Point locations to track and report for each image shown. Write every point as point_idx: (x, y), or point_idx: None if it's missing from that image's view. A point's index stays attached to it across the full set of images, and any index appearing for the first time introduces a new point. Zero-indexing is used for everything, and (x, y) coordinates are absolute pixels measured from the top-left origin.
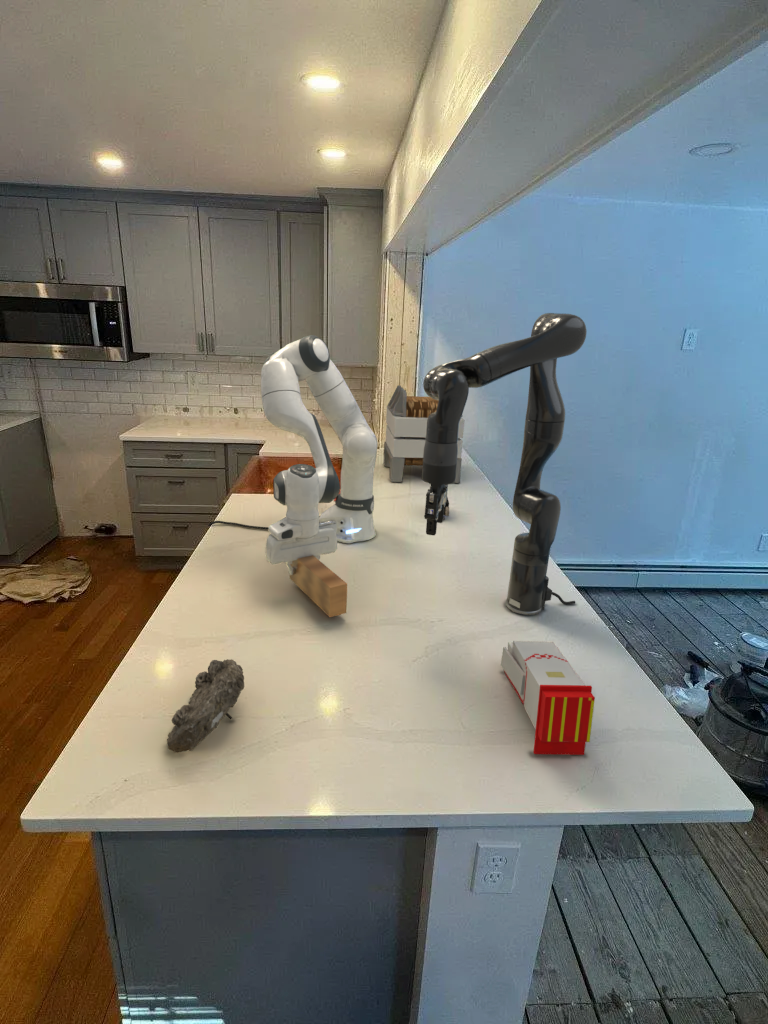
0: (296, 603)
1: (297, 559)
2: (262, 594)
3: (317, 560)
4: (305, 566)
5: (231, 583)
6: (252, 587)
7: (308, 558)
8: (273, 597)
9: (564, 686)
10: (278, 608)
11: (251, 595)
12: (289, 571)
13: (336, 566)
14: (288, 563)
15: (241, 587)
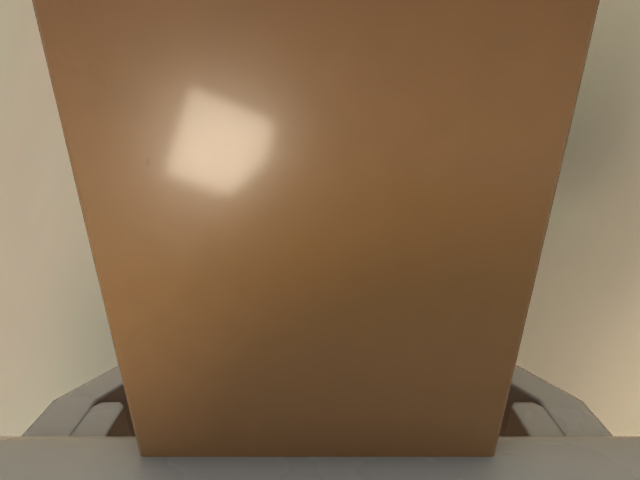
0: None
1: (488, 436)
2: (578, 297)
3: (123, 193)
4: (578, 24)
5: None
6: (570, 391)
7: (292, 376)
8: (547, 232)
9: None
10: (620, 62)
11: (636, 314)
12: None
13: (8, 412)
14: (585, 419)
15: (617, 413)
